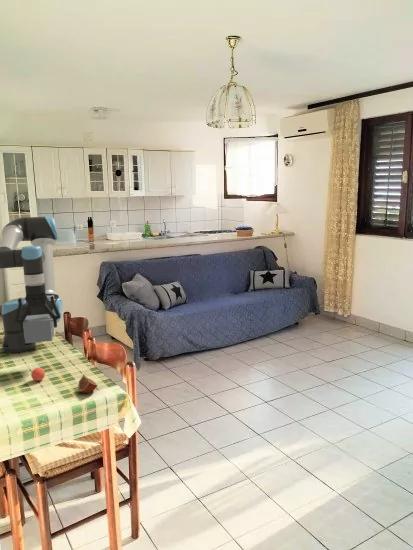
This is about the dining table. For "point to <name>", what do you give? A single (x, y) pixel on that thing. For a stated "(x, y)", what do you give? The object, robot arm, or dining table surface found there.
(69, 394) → the dining table surface
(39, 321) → the slate gray cube
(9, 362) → the dining table surface
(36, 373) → the ball
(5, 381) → the dining table surface
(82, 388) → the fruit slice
